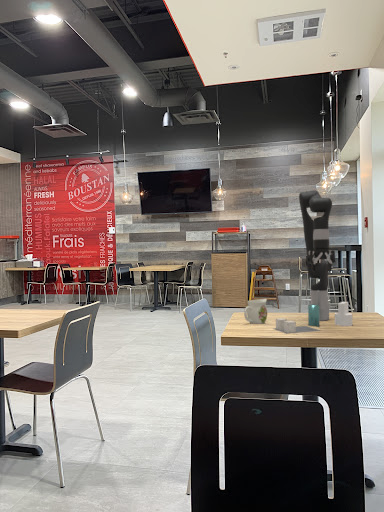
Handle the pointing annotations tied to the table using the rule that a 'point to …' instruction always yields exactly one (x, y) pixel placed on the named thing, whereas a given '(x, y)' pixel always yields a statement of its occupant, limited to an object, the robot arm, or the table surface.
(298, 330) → the slate board
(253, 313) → the pitcher
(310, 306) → the teal glass cylinder
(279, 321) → the cream cube
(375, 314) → the table surface
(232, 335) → the table surface
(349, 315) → the base with upright slab
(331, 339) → the table surface
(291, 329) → the cream cube
